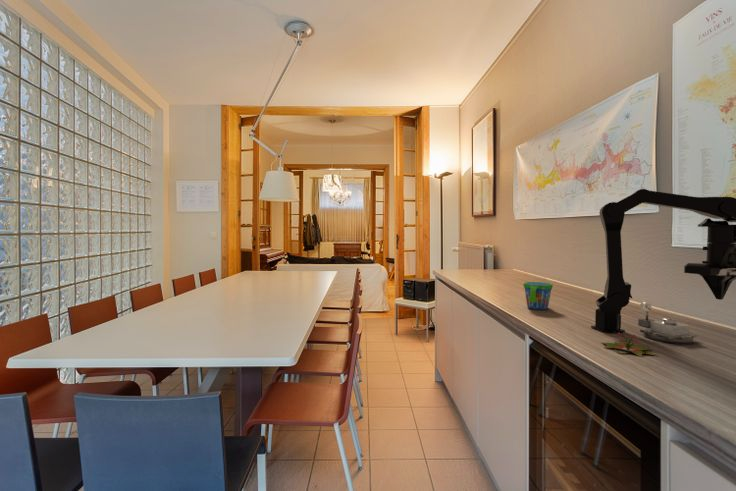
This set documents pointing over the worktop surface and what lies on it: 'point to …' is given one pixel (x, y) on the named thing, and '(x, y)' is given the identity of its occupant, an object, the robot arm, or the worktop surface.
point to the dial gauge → (645, 308)
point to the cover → (669, 327)
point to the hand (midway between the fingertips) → (719, 299)
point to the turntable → (668, 337)
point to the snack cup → (537, 294)
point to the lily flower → (629, 346)
